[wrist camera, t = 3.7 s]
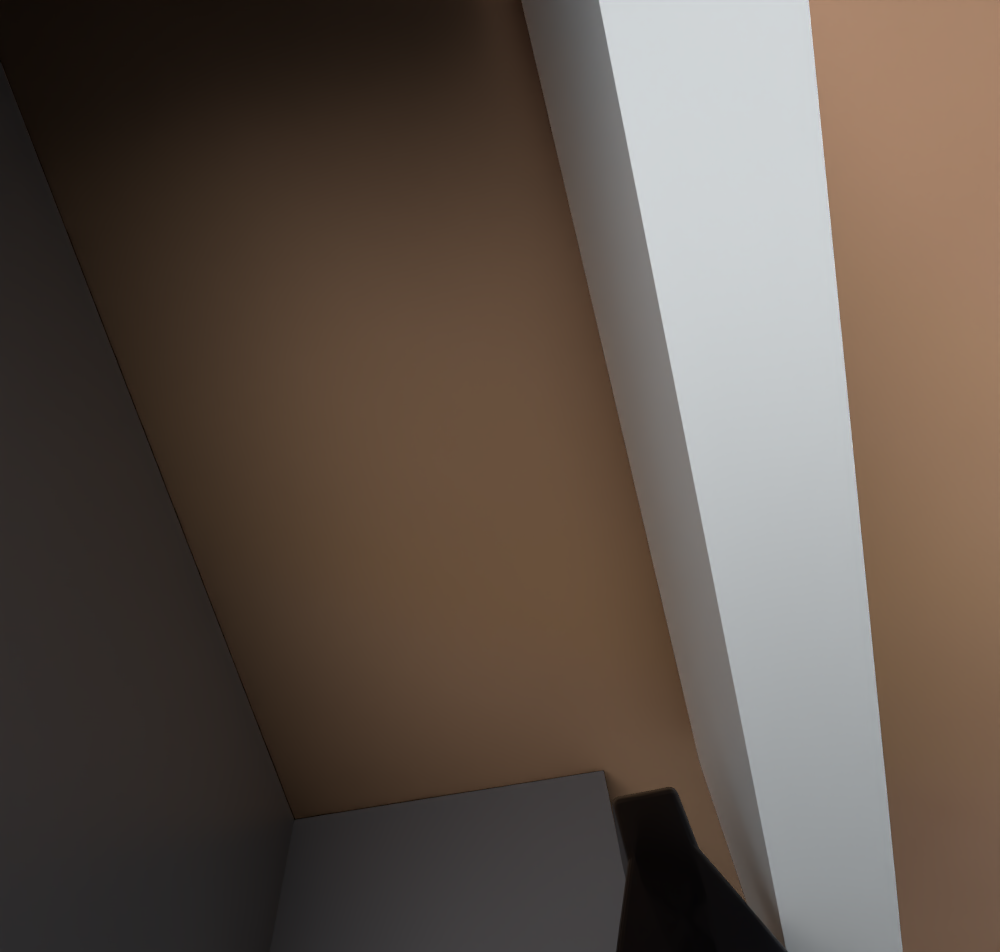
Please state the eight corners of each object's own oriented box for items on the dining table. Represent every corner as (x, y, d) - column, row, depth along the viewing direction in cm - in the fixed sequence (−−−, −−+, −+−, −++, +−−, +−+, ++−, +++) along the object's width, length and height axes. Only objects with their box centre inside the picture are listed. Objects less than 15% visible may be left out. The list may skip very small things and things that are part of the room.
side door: (764, 746, 14) (917, 1103, 9) (698, 762, 14) (821, 1124, 9) (604, -123, 8) (781, -269, 4) (500, -89, 8) (558, -199, 4)
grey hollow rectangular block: (623, 902, 16) (714, 1360, 10) (122, 979, 16) (-40, 1464, 11) (427, -405, 8) (385, -1334, 2) (-573, -205, 8) (-2646, -636, 3)
